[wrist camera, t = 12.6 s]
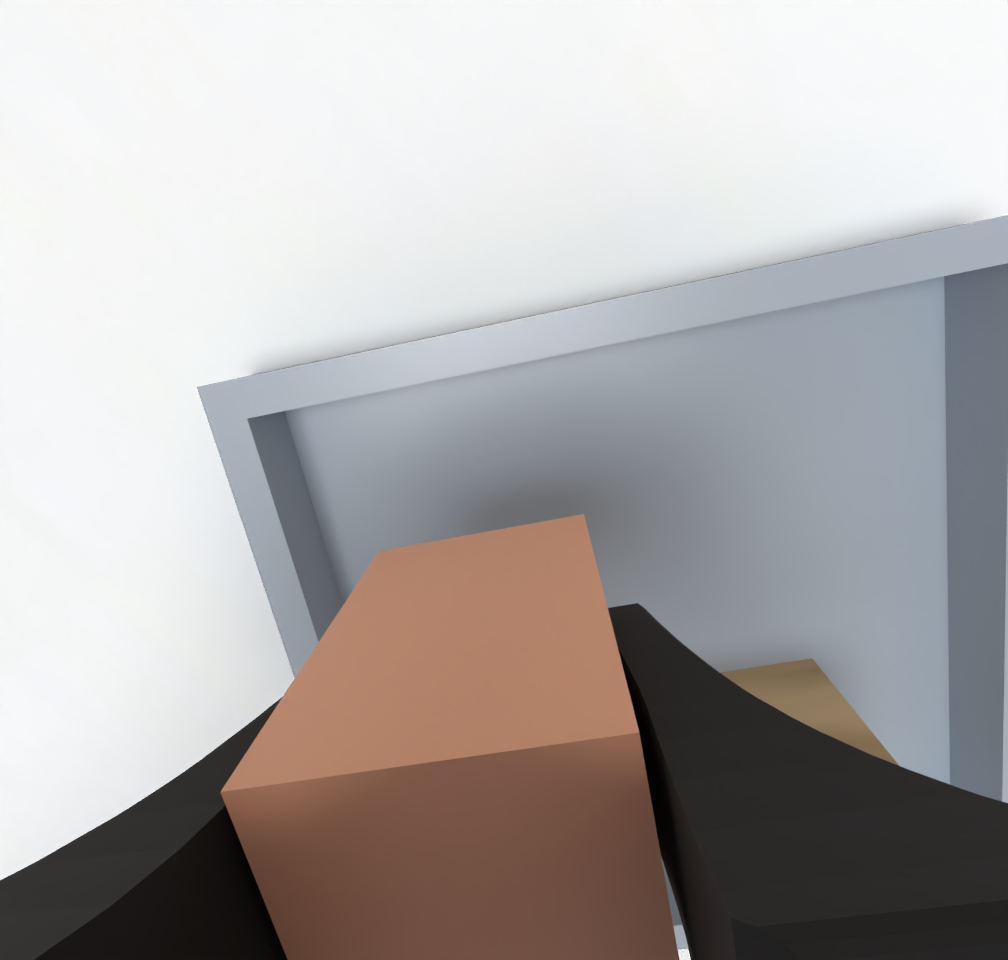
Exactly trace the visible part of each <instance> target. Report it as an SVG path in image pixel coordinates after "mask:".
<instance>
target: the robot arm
mask: <svg viewBox="0 0 1008 960" xmlns="http://www.w3.org/2000/svg"><path fill="white" fill-rule="evenodd" d="M608 611H609V615H610V619H611V623H612V627H613V631H614V635H615V639H616V642H617V646H618V650H619V654H620V658H621V662H622V666H623V670H624V674H625V678H626V682H627V686H628V690H629V694H630V698H631V702H632V705H633V709H634V713H635V717H636V721H637V725H638V729H639V733H640V739H641V745H642V750H643V756H644V762H645V768H646V773H647V779H648V785H649V790H650V796H651V802H652V807H653V813H654V819H655V824H656V830H657V836H658V842H659V847H660V853H661V857H662V860H663V863H664V866H665V869H666V873H667V876H668V879H669V882H670V885H671V888H672V891H673V894H674V897H675V900H676V904H677V907H678V911H679V915H680V918H681V922H682V925H683V929H684V932H685V936H686V940H687V944H688V949H689V953H690V957H691V960H1008V803H1005V802H1002V801H999V800H995V799H992V798H988V797H985V796H982V795H979V794H976V793H973V792H970V791H967V790H964V789H961V788H958V787H955V786H953V785H950V784H947V783H944V782H942V781H939V780H936V779H933V778H931V777H928V776H925V775H922V774H919V773H917V772H914V771H911V770H908V769H906V768H903V767H901V766H898V765H896V764H893V763H891V762H888V761H886V760H883V759H881V758H878V757H876V756H873V755H871V754H869V753H866V752H864V751H862V750H860V749H857V748H855V747H853V746H851V745H849V744H846V743H844V742H842V741H840V740H838V739H835V738H833V737H831V736H829V735H827V734H824V733H822V732H820V731H818V730H816V729H814V728H812V727H810V726H808V725H806V724H804V723H802V722H800V721H798V720H796V719H794V718H792V717H791V716H789V715H787V714H785V713H784V712H782V711H780V710H778V709H776V708H775V707H773V706H771V705H769V704H768V703H766V702H764V701H762V700H760V699H759V698H757V697H755V696H754V695H752V694H750V693H749V692H747V691H746V690H744V689H743V688H741V687H740V686H738V685H737V684H735V683H734V682H732V681H731V680H730V679H728V678H727V677H725V676H724V675H722V674H721V673H720V672H718V671H717V670H716V669H714V668H713V667H712V666H710V665H709V664H708V663H706V662H705V661H704V660H703V659H701V658H700V657H699V656H698V655H696V654H695V653H694V652H693V651H691V650H690V649H689V648H688V647H686V646H685V645H684V644H683V643H682V642H680V641H679V640H678V639H677V638H676V637H675V636H674V635H672V634H671V633H670V632H669V631H668V630H667V629H666V628H665V627H664V626H663V625H661V624H660V623H659V622H658V621H657V620H656V619H655V618H654V617H653V616H652V615H651V614H650V613H649V612H648V611H647V610H646V609H645V608H644V607H643V606H641V605H640V604H638V603H635V604H629V605H623V606H617V607H611V608H608ZM281 699H282V698H281ZM281 699H279V700H278V701H277V702H276V703H274V704H273V705H272V706H271V707H269V708H268V709H267V710H266V711H264V712H263V713H262V714H261V715H260V716H258V717H257V718H256V719H254V720H253V721H252V722H251V723H249V724H248V725H247V726H245V727H244V728H243V729H241V730H240V731H239V732H237V733H236V734H235V735H233V736H232V737H231V738H229V739H228V740H227V741H225V742H224V743H223V744H221V745H220V746H219V747H218V748H216V749H215V750H214V751H212V752H211V753H210V754H208V755H207V756H206V757H204V758H203V759H202V760H200V761H199V762H198V763H196V764H195V765H193V766H192V767H190V768H189V769H188V770H186V771H185V772H183V773H182V774H180V775H179V776H177V777H176V778H175V779H173V780H172V781H170V782H169V783H167V784H166V785H164V786H163V787H161V788H160V789H158V790H156V791H155V792H153V793H152V794H150V795H149V796H147V797H146V798H144V799H143V800H141V801H139V802H138V803H136V804H135V805H133V806H132V807H130V808H129V809H127V810H125V811H124V812H122V813H120V814H119V815H117V816H116V817H114V818H112V819H110V820H109V821H107V822H105V823H103V824H102V825H100V826H98V827H96V828H95V829H93V830H91V831H89V832H88V833H86V834H84V835H82V836H81V837H79V838H77V839H76V840H74V841H72V842H70V843H69V844H67V845H65V846H63V847H62V848H60V849H58V850H56V851H55V852H53V853H51V854H49V855H48V856H46V857H44V858H42V859H41V860H39V861H37V862H35V863H33V864H31V865H29V866H28V867H26V868H24V869H22V870H20V871H18V872H16V873H14V874H12V875H10V876H8V877H6V878H4V879H3V880H1V881H0V960H288V959H287V957H286V954H285V952H284V950H283V947H282V945H281V942H280V940H279V937H278V935H277V932H276V930H275V927H274V925H273V922H272V920H271V917H270V915H269V912H268V910H267V907H266V905H265V902H264V900H263V897H262V895H261V892H260V890H259V887H258V885H257V882H256V880H255V877H254V875H253V872H252V870H251V867H250V865H249V862H248V860H247V857H246V855H245V852H244V850H243V847H242V845H241V842H240V840H239V837H238V835H237V832H236V830H235V827H234V825H233V822H232V820H231V818H230V815H229V813H228V810H227V808H226V805H225V803H224V800H223V798H222V795H221V793H220V792H221V790H222V789H223V787H224V786H225V784H226V783H227V781H228V780H229V778H230V777H231V775H232V773H233V772H234V770H235V769H236V767H237V766H238V764H239V763H240V761H241V760H242V758H243V757H244V755H245V754H246V752H247V751H248V749H249V748H250V746H251V745H252V743H253V742H254V740H255V739H256V737H257V735H258V734H259V732H260V731H261V729H262V728H263V726H264V725H265V723H266V722H267V720H268V719H269V717H270V716H271V714H272V713H273V711H274V710H275V708H276V707H277V705H278V704H279V702H280V700H281Z"/></svg>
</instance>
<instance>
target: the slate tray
mask: <svg viewBox="0 0 1008 960" xmlns="http://www.w3.org/2000/svg"><path fill="white" fill-rule="evenodd" d="M197 389H198V392H199V395H200V398H201V401H202V404H203V407H204V410H205V413H206V416H207V419H208V422H209V425H210V428H211V430H212V433H213V436H214V439H215V442H216V445H217V448H218V451H219V454H220V457H221V460H222V463H223V466H224V469H225V472H226V475H227V478H228V481H229V484H230V487H231V490H232V493H233V496H234V499H235V502H236V505H237V508H238V511H239V514H240V517H241V520H242V522H243V525H244V528H245V531H246V534H247V537H248V540H249V543H250V546H251V549H252V552H253V555H254V558H255V561H256V564H257V567H258V570H259V573H260V576H261V579H262V582H263V585H264V588H265V591H266V594H267V597H268V600H269V603H270V606H271V609H272V612H273V614H274V617H275V620H276V623H277V626H278V629H279V632H280V635H281V638H282V641H283V644H284V647H285V650H286V653H287V656H288V659H289V662H290V665H291V668H292V671H293V674H294V677H295V678H296V676H297V675H298V673H299V672H300V670H301V669H302V667H303V665H304V664H305V662H306V661H307V659H308V658H309V656H310V655H311V653H312V652H313V650H314V649H315V647H316V646H317V644H318V643H319V641H320V640H321V638H322V637H323V635H324V634H325V632H326V630H327V629H328V627H329V626H330V624H331V623H332V621H333V620H334V618H335V617H336V615H337V614H338V612H339V611H340V609H341V608H342V606H343V605H344V603H345V602H346V600H347V599H348V597H349V595H350V594H351V592H352V591H353V589H354V588H355V586H356V585H357V583H358V582H359V580H360V579H361V577H362V576H363V574H364V573H365V571H366V570H367V568H368V567H369V565H370V564H371V562H372V560H373V559H374V557H375V556H376V554H377V553H378V551H382V550H388V549H394V548H399V547H405V546H410V545H416V544H421V543H427V542H432V541H438V540H443V539H449V538H454V537H460V536H465V535H471V534H476V533H482V532H487V531H493V530H499V529H504V528H510V527H515V526H521V525H526V524H532V523H537V522H543V521H548V520H554V519H559V518H565V517H570V516H576V515H581V514H584V516H585V520H586V524H587V528H588V532H589V536H590V540H591V544H592V548H593V552H594V556H595V560H596V564H597V568H598V572H599V576H600V579H601V583H602V587H603V591H604V595H605V599H606V603H607V607H608V608H611V607H617V606H623V605H629V604H635V603H638V604H640V605H641V606H643V607H644V608H645V609H646V610H647V611H648V612H649V613H650V614H651V615H652V616H653V617H654V618H655V619H656V620H657V621H658V622H659V623H660V624H661V625H663V626H664V627H665V628H666V629H667V630H668V631H669V632H670V633H671V634H672V635H674V636H675V637H676V638H677V639H678V640H679V641H680V642H682V643H683V644H684V645H685V646H686V647H688V648H689V649H690V650H691V651H693V652H694V653H695V654H696V655H698V656H699V657H700V658H701V659H703V660H704V661H705V662H706V663H708V664H709V665H710V666H712V667H713V668H714V669H716V670H717V671H718V672H726V671H733V670H739V669H746V668H752V667H759V666H766V665H772V664H779V663H785V662H792V661H799V660H805V659H813V660H814V661H815V662H816V664H817V665H818V666H819V667H820V669H821V670H822V671H823V672H824V673H825V675H826V676H827V677H828V678H829V680H830V681H831V682H832V683H833V685H834V686H835V687H836V688H837V689H838V691H839V692H840V693H841V694H842V696H843V697H844V698H845V699H846V701H847V702H848V703H849V704H850V705H851V707H852V708H853V709H854V710H855V712H856V713H857V714H858V715H859V717H860V718H861V719H862V720H863V721H864V723H865V724H866V725H867V726H868V728H869V729H870V730H871V731H872V733H873V734H874V735H875V736H876V737H877V739H878V740H879V741H880V742H881V744H882V745H883V746H884V747H885V749H886V750H887V751H888V752H889V753H890V755H891V756H892V757H893V758H894V760H895V761H896V762H897V763H898V765H899V766H901V767H903V768H906V769H908V770H911V771H914V772H917V773H919V774H922V775H925V776H928V777H931V778H933V779H936V780H939V781H942V782H944V783H947V784H950V785H953V786H955V787H958V788H961V789H964V790H967V791H970V792H973V793H976V794H979V795H982V796H985V797H988V798H992V799H995V800H999V801H1002V802H1005V803H1008V215H1007V216H1002V217H997V218H993V219H988V220H983V221H978V222H974V223H969V224H964V225H959V226H955V227H950V228H945V229H940V230H936V231H931V232H926V233H922V234H917V235H912V236H907V237H903V238H898V239H893V240H889V241H884V242H879V243H874V244H870V245H865V246H860V247H856V248H851V249H846V250H841V251H837V252H832V253H827V254H822V255H818V256H813V257H808V258H804V259H799V260H794V261H789V262H785V263H780V264H775V265H771V266H766V267H761V268H756V269H752V270H747V271H742V272H738V273H733V274H728V275H723V276H719V277H714V278H709V279H705V280H700V281H695V282H690V283H686V284H681V285H676V286H671V287H667V288H662V289H657V290H653V291H648V292H643V293H638V294H634V295H629V296H624V297H620V298H615V299H610V300H605V301H601V302H596V303H591V304H587V305H582V306H577V307H572V308H568V309H563V310H558V311H553V312H549V313H544V314H539V315H535V316H530V317H525V318H520V319H516V320H511V321H506V322H502V323H497V324H492V325H487V326H483V327H478V328H473V329H469V330H464V331H459V332H454V333H450V334H445V335H440V336H435V337H431V338H426V339H421V340H417V341H412V342H407V343H402V344H398V345H393V346H388V347H384V348H379V349H374V350H369V351H365V352H360V353H355V354H351V355H346V356H341V357H336V358H332V359H327V360H322V361H317V362H313V363H308V364H303V365H299V366H294V367H289V368H284V369H280V370H275V371H270V372H266V373H261V374H256V375H251V376H247V377H242V378H237V379H233V380H228V381H223V382H219V383H214V384H209V385H205V386H200V387H197ZM661 859H662V857H661ZM662 864H663V870H664V876H665V881H666V887H667V893H668V898H669V904H670V910H671V916H672V921H673V927H674V933H675V938H676V944H677V949H687V948H688V944H687V940H686V936H685V932H684V929H683V925H682V922H681V918H680V915H679V911H678V907H677V904H676V900H675V897H674V894H673V891H672V888H671V885H670V882H669V879H668V876H667V873H666V869H665V866H664V863H663V860H662Z"/></svg>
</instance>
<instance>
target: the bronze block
mask: <svg viewBox="0 0 1008 960" xmlns="http://www.w3.org/2000/svg"><path fill="white" fill-rule="evenodd" d="M720 673H721V674H722V675H724V676H725V677H727V678H728V679H730V680H731V681H732V682H734V683H735V684H737V685H738V686H740V687H741V688H743V689H744V690H746V691H747V692H749V693H750V694H752V695H754V696H755V697H757V698H759V699H760V700H762V701H764V702H766V703H768V704H769V705H771V706H773V707H775V708H776V709H778V710H780V711H782V712H784V713H785V714H787V715H789V716H791V717H792V718H794V719H796V720H798V721H800V722H802V723H804V724H806V725H808V726H810V727H812V728H814V729H816V730H818V731H820V732H822V733H824V734H827V735H829V736H831V737H833V738H835V739H838V740H840V741H842V742H844V743H846V744H849V745H851V746H853V747H855V748H857V749H860V750H862V751H864V752H866V753H869V754H871V755H873V756H876V757H878V758H881V759H883V760H886V761H888V762H891V763H893V764H896V765H898V763H897V762H896V761H895V760H894V758H893V757H892V756H891V755H890V753H889V752H888V751H887V750H886V749H885V747H884V746H883V745H882V744H881V742H880V741H879V740H878V739H877V737H876V736H875V735H874V734H873V733H872V731H871V730H870V729H869V728H868V726H867V725H866V724H865V723H864V721H863V720H862V719H861V718H860V717H859V715H858V714H857V713H856V712H855V710H854V709H853V708H852V707H851V705H850V704H849V703H848V702H847V701H846V699H845V698H844V697H843V696H842V694H841V693H840V692H839V691H838V689H837V688H836V687H835V686H834V685H833V683H832V682H831V681H830V680H829V678H828V677H827V676H826V675H825V673H824V672H823V671H822V670H821V669H820V667H819V666H818V665H817V664H816V662H815V661H814V660H813V659H805V660H799V661H792V662H785V663H779V664H772V665H766V666H759V667H752V668H746V669H739V670H733V671H726V672H720ZM898 766H899V765H898Z"/></svg>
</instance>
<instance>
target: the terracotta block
mask: <svg viewBox="0 0 1008 960" xmlns="http://www.w3.org/2000/svg"><path fill="white" fill-rule="evenodd" d="M220 793H221V795H222V798H223V800H224V803H225V805H226V808H227V810H228V813H229V815H230V818H231V820H232V822H233V825H234V827H235V830H236V832H237V835H238V837H239V840H240V842H241V845H242V847H243V850H244V852H245V855H246V857H247V860H248V862H249V865H250V867H251V870H252V872H253V875H254V877H255V880H256V882H257V885H258V887H259V890H260V892H261V895H262V897H263V900H264V902H265V905H266V907H267V910H268V912H269V915H270V917H271V920H272V922H273V925H274V927H275V930H276V932H277V935H278V937H279V940H280V942H281V945H282V947H283V950H284V952H285V954H286V957H287V959H288V960H679V955H678V950H677V944H676V938H675V933H674V927H673V921H672V916H671V910H670V904H669V898H668V893H667V887H666V881H665V876H664V870H663V864H662V859H661V853H660V847H659V842H658V836H657V830H656V824H655V819H654V813H653V807H652V802H651V796H650V790H649V785H648V779H647V773H646V768H645V762H644V756H643V750H642V745H641V739H640V733H639V729H638V725H637V721H636V717H635V713H634V709H633V705H632V702H631V698H630V694H629V690H628V686H627V682H626V678H625V674H624V670H623V666H622V662H621V658H620V654H619V650H618V646H617V642H616V639H615V635H614V631H613V627H612V623H611V619H610V615H609V611H608V607H607V603H606V599H605V595H604V591H603V587H602V583H601V579H600V576H599V572H598V568H597V564H596V560H595V556H594V552H593V548H592V544H591V540H590V536H589V532H588V528H587V524H586V520H585V516H584V514H581V515H576V516H570V517H565V518H559V519H554V520H548V521H543V522H537V523H532V524H526V525H521V526H515V527H510V528H504V529H499V530H493V531H487V532H482V533H476V534H471V535H465V536H460V537H454V538H449V539H443V540H438V541H432V542H427V543H421V544H416V545H410V546H405V547H399V548H394V549H388V550H382V551H378V553H377V554H376V556H375V557H374V559H373V560H372V562H371V564H370V565H369V567H368V568H367V570H366V571H365V573H364V574H363V576H362V577H361V579H360V580H359V582H358V583H357V585H356V586H355V588H354V589H353V591H352V592H351V594H350V595H349V597H348V599H347V600H346V602H345V603H344V605H343V606H342V608H341V609H340V611H339V612H338V614H337V615H336V617H335V618H334V620H333V621H332V623H331V624H330V626H329V627H328V629H327V630H326V632H325V634H324V635H323V637H322V638H321V640H320V641H319V643H318V644H317V646H316V647H315V649H314V650H313V652H312V653H311V655H310V656H309V658H308V659H307V661H306V662H305V664H304V665H303V667H302V669H301V670H300V672H299V673H298V675H297V676H296V678H295V679H294V681H293V682H292V684H291V685H290V687H289V688H288V690H287V691H286V693H285V694H284V696H283V697H282V699H281V700H280V702H279V704H278V705H277V707H276V708H275V710H274V711H273V713H272V714H271V716H270V717H269V719H268V720H267V722H266V723H265V725H264V726H263V728H262V729H261V731H260V732H259V734H258V735H257V737H256V739H255V740H254V742H253V743H252V745H251V746H250V748H249V749H248V751H247V752H246V754H245V755H244V757H243V758H242V760H241V761H240V763H239V764H238V766H237V767H236V769H235V770H234V772H233V773H232V775H231V777H230V778H229V780H228V781H227V783H226V784H225V786H224V787H223V789H222V790H221V792H220Z"/></svg>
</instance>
